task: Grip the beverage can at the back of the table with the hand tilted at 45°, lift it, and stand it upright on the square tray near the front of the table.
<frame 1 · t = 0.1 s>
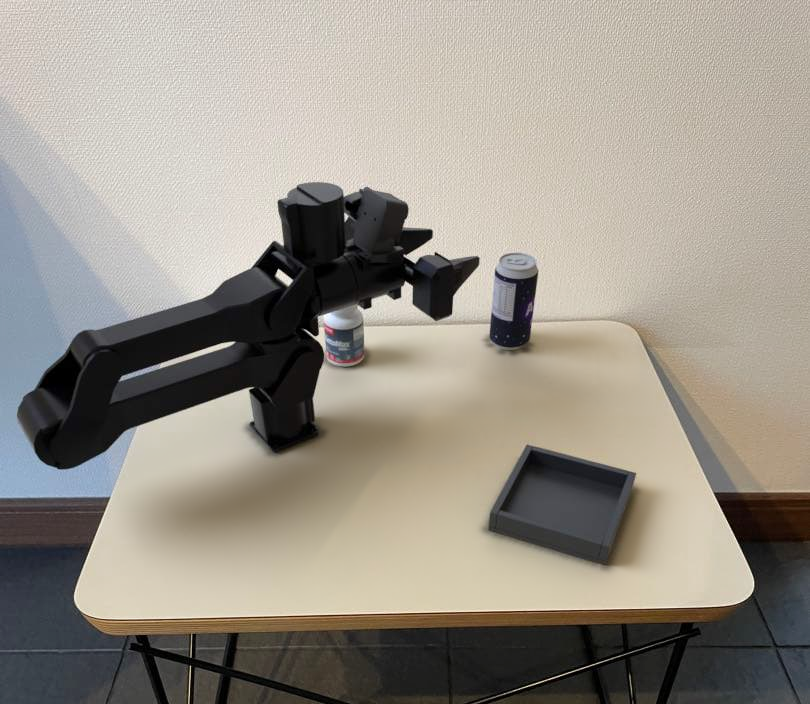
hand: (454, 246, 92), 17 cm above the table, tool horizontal, fingers open, 9 cm apart
beverage can: (508, 343, 108), on the table
pill bottle: (345, 358, 106), on the table
square tray: (561, 509, 84), on the table
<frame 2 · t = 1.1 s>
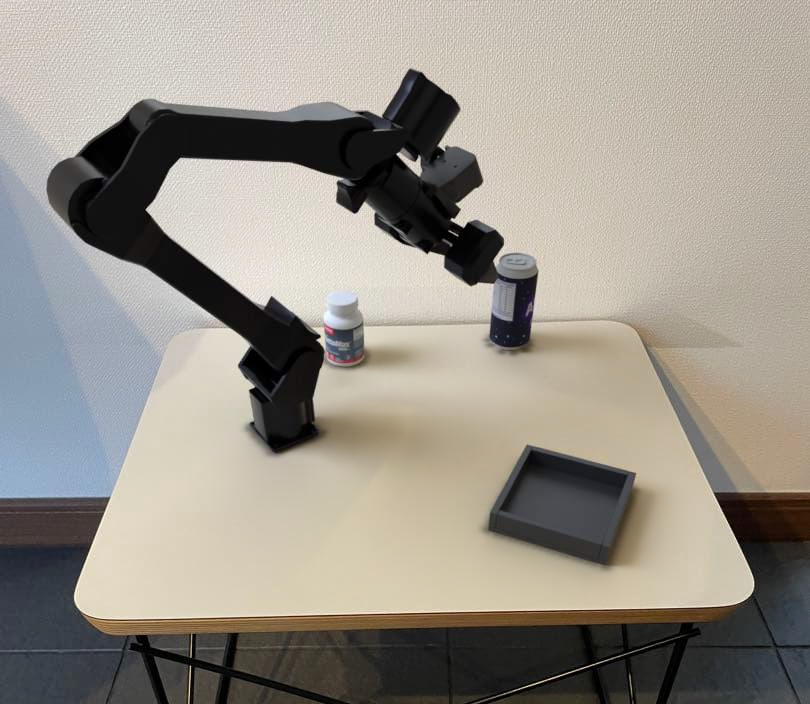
hand: (472, 265, 96), 13 cm above the table, tool tilted 45°, fingers open, 9 cm apart
nothing on the table moved.
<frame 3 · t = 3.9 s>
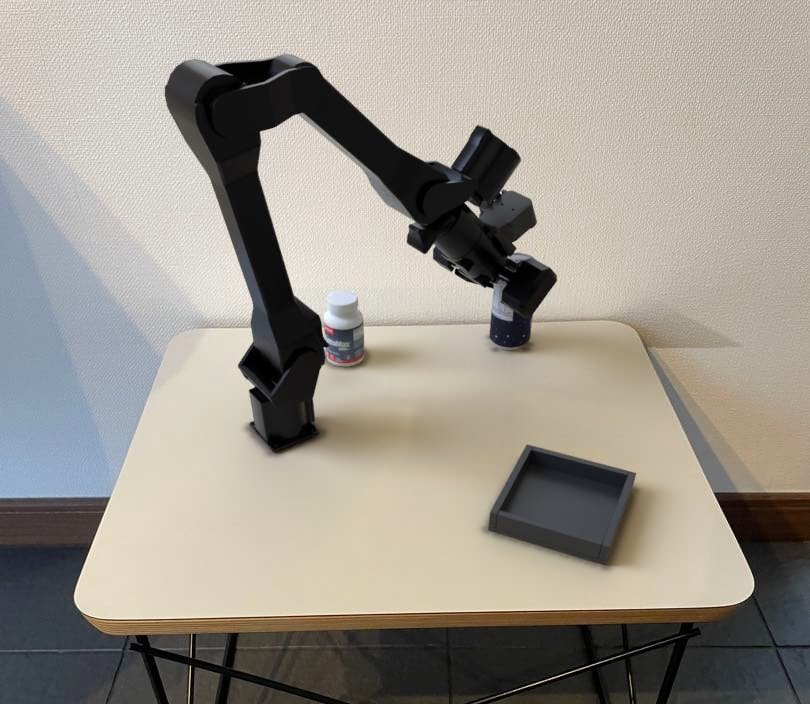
hand: (521, 296, 104), 7 cm above the table, tool tilted 45°, fingers closed on beverage can, 5 cm apart
beverage can: (508, 343, 108), on the table, touching gripper
everything else where it was.
when the fingers open (7 cm above the table, at t = 12.6 s): beverage can stays where it is, resting on square tray.
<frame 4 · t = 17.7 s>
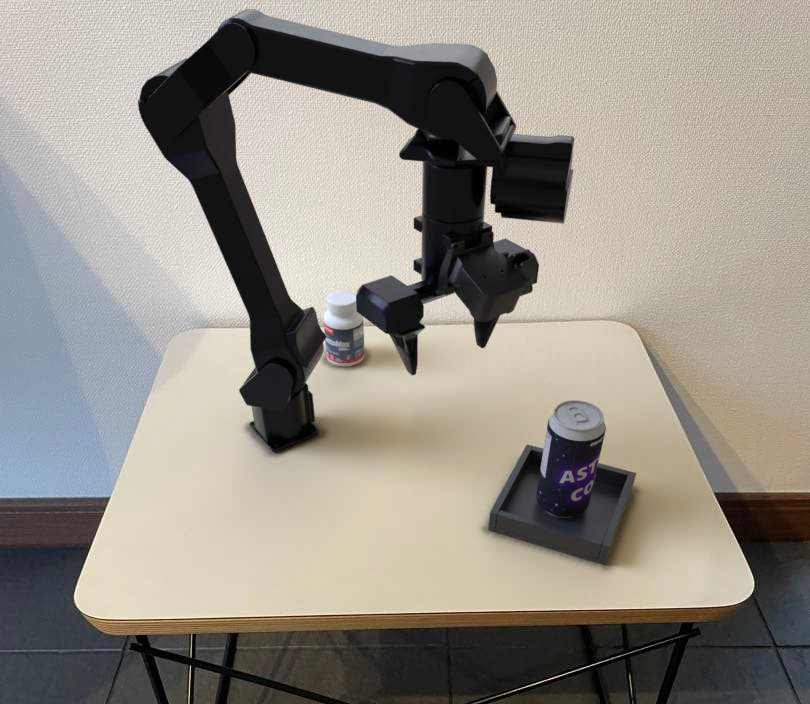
hand: (447, 359, 81), 13 cm above the table, tool pointing down, fingers open, 9 cm apart
beverage can: (561, 506, 83), resting on square tray
everything else where it was.
at the end: beverage can inside the target area in the square tray (0.1 cm from its centre), point 0.4 cm above the square tray's base; beverage can tilted 0°; the gripper is holding nothing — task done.
